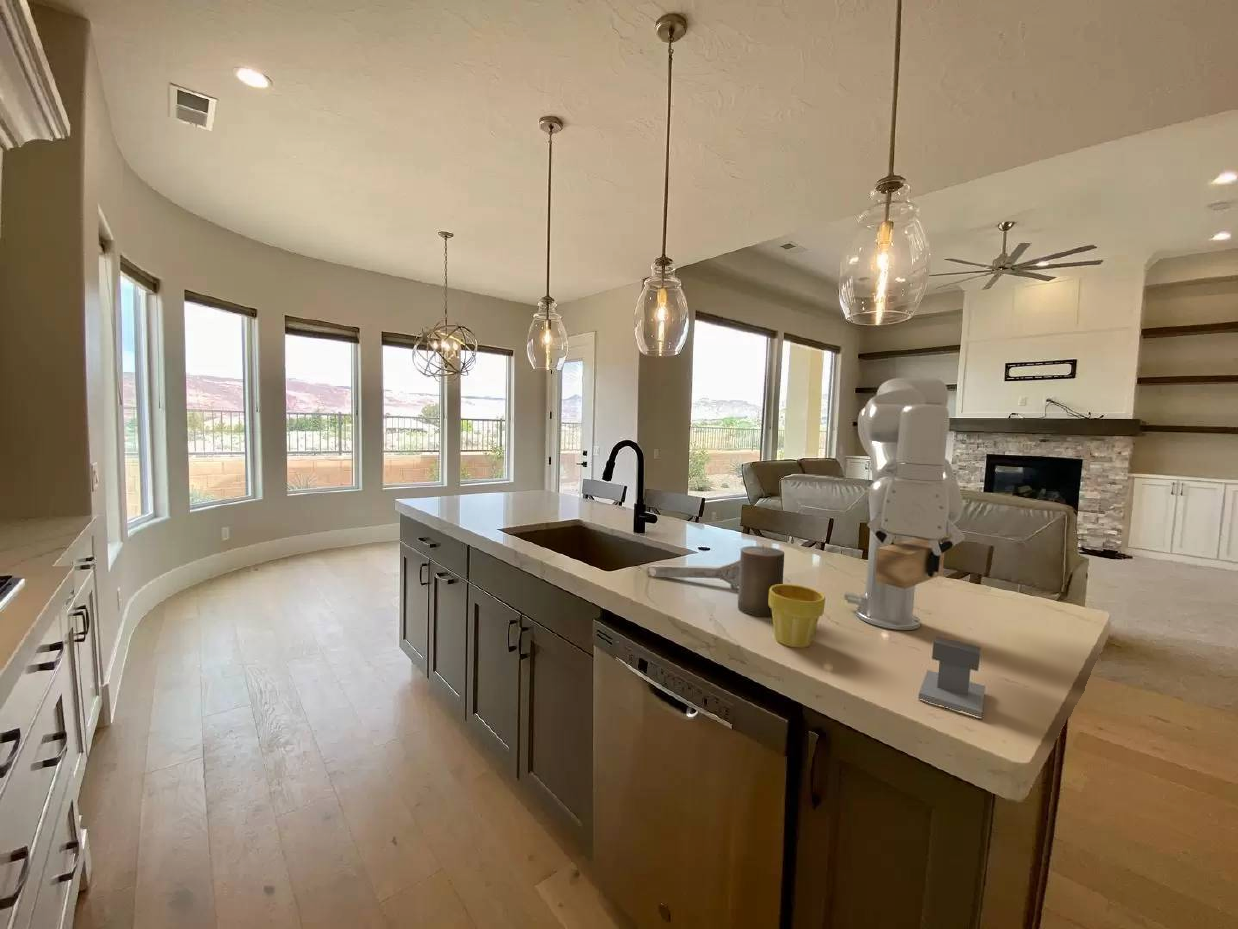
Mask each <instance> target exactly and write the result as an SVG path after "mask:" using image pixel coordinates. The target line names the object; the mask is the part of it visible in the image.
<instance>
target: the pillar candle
mask: <svg viewBox="0 0 1238 929" xmlns="http://www.w3.org/2000/svg"><path fill="white" fill-rule="evenodd" d="M739 550H740V555H739V556H740V558H739V559H740V572H739V573H740V574H739V587H738V593H737V596H738V597H737V608H738V611H741V612H743V613H745V614H749V615H752V616H757V617H762V618H769V617H771V618H773V617H772V609H771V608H770V607H769V604H768V598H769V589H770V587H771V586H773V585H778V584H784V569H785V568H784V567H785V552H784V550H781V549H778V548H775V547H770V546H767V547H766V546H764V544H763V545H762V546H760V545H759V546H757V545H756V546H749V545H748V546H744V547H741V548H740V549H739Z"/></svg>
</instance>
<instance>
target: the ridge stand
mask: <svg viewBox="0 0 1238 929" xmlns="http://www.w3.org/2000/svg"><path fill="white" fill-rule="evenodd" d="M932 644H933V645H932V654H931V659H932V660H934V661H937V662H939V663H938V671H937V672H936V671H933V670H929V669H927V670H926V673H925V676H924V677H923V678H924V679H923V681H922V684H921V687H920V689H919V692H918V699H923V700H925V701H928V702H931V703H934V704H937V705H942V706H944V707H948V708H951V709H954V710H957V711H963V712H966V713H969V714H972V715H975V716H978V717H981V719H982V717H983V715H982V714H983V709H984V708H983V706H984V701H985V700H984V699H985V692H986V691H985V690H986V685H984V684H980V683H975V682H972V681H970V679H971V670H972V671H975V672H979V667H980V659H981V658H980V657H981V650H982V649H981V648H982V647H981V646H977V645H974V644H970V643H965V642H961V641H957V640H953V639H949V638H945V637H941V636H937V635H936V636H935V637H934V640H933V643H932ZM983 700H984V701H983Z"/></svg>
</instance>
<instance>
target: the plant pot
mask: <svg viewBox="0 0 1238 929" xmlns="http://www.w3.org/2000/svg"><path fill="white" fill-rule="evenodd" d="M768 604H769V607H770V608H771V609H772V617H771V618H772V623H773V624H772V625H773V631H774V638H775V640H776V641H777V642H778V643H780V644H782V645H785V646H788V647H792V648H807V647H809V646H811V643H812V641H813V637H814V634H815V631H816V627H817V624H818V622H819V619H820V617H821V616H823V615H824V611H825V604H826V596H825V595H824V594H823V593H822V592H821V591H819V590H817V589H814V588H812V587H809V586H804V585H798V584H792V583H791V584H789V583H783V584H778V585H773V586H771V587H770V589H769V598H768Z"/></svg>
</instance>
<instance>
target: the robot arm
mask: <svg viewBox="0 0 1238 929" xmlns="http://www.w3.org/2000/svg"><path fill="white" fill-rule="evenodd" d="M948 401H949V391H948V387H947V385H946V383H944V381H943V380H942V379H938V378H933V377H931V378H930V377H929V378H928V377H927V378H926V377H925V378H921V377H897V378H896V377H895V378H891V379H889V380H887V381H884V382H883V383H882V384H880V386H879V387H878V389H877V392H876V394H875V395H874V396H873V397H871V398H870V399H869V400H868V401H867V403H866V404H865V406H864V407H863V408H862V409H861V411H860V412H859V413H858V416H857V433H858V437H859V440H860V443H861V445H862V447H863V449H864V450H865V452H866V454H867V455H868V457H869V462H870V468H871V469H870V470H871V475H872V479H873V481H872V483H871V485H870V487H869V489H868V510H869V522H867V525H866V526H867V527H868V528H869V543H868V555H867V557H868V558H867V566H866V567H867V568H866V570H867V571H866V579H865V580H866V581H865V590H864V591H865V592H864V593H860V594H856V593H854V592H849V591H845V593H844V598H843V599H844V600H845V601H847V603H849V604H852V605H857V606H858V607H857V608H856V610H855V611H856V613H855V614H856V616H857V617H858V618H859V619H860V620H862V621H864V622H865V623H868V624H871V625H873V626H877V627H881V628H884V629H889V630H895V631H913V630H916V629H918V628H920V627H921V619H920V618H919V617H918V616H917V615H915V614H914V603H915V593H916V592H915V591H916V590H915V589H916V585H914V586H912V587H909V588H906V589H903V588H899V587H895V586H891V585H888V584H884V583H880V582H877V581H875V577H876V565H877V554H878V548H880V547H884V546H888V545H892V544H896V543H900V542H904V541H908V540H912V539H916V538H918V539H923V540H929V541H930V544H931V547H932V553H931V554H930V557H929V568H928V576H929V577H933V575H934V572H939V564H940V555H941V554H942V553H943V552H947V551H949V549H951V548H953V547H955V546H956V545H958V544H960V543H961V542H963V541H964V540H965V534H963V532H962V531H961V530H960V529H959V528H958V527H957V526H956V525H955V523H956V522H958V521H959V520H960V519H961V517H962V515H963V509H964V502H963V496H962V491H961V489H960V486H959V484H958V481H957V478H956V475H955V472H954V470H953V467H952V465H951V463H950V461H949V460H948V459H947V458H946V452H947V441H948V434H949V431H950V425H951V424H950V420H951V419H950V413H949V409H948V408H947V405H948V404H949V403H948ZM947 532H949V534H951V536H952V537H950V538H948V539H947V540H946V541H943V542H941V540H942V539H944V538H945V537H946V535H947ZM941 543H942V544H941Z"/></svg>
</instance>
